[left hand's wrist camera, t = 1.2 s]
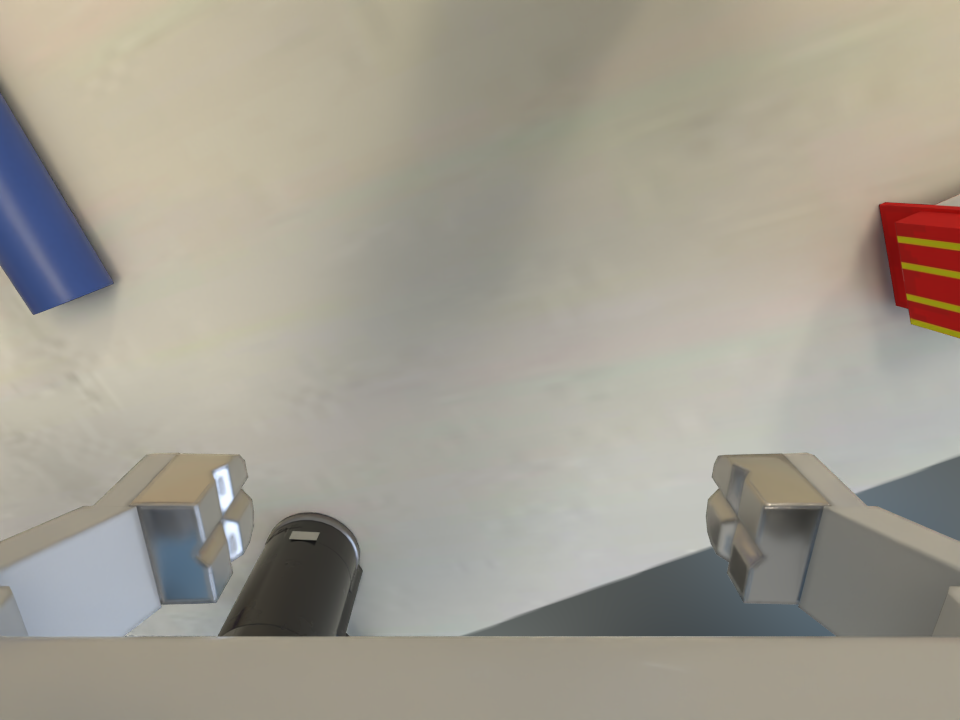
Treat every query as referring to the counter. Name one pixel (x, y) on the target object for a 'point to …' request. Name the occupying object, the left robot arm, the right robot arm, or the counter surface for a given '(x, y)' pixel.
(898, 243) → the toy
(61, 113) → the counter surface
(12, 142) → the rod
